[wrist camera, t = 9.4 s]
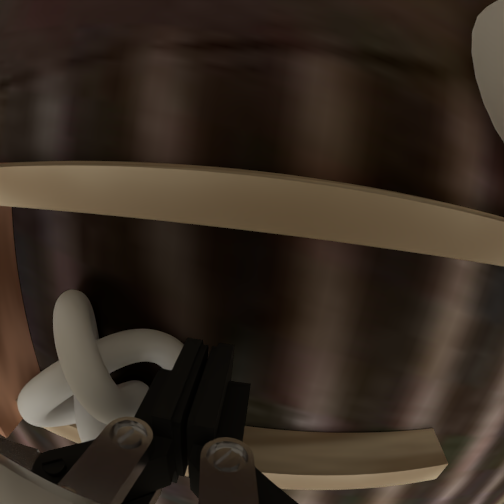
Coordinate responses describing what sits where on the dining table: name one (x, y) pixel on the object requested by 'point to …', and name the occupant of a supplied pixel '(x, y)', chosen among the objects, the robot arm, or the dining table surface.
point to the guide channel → (261, 220)
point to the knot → (91, 371)
